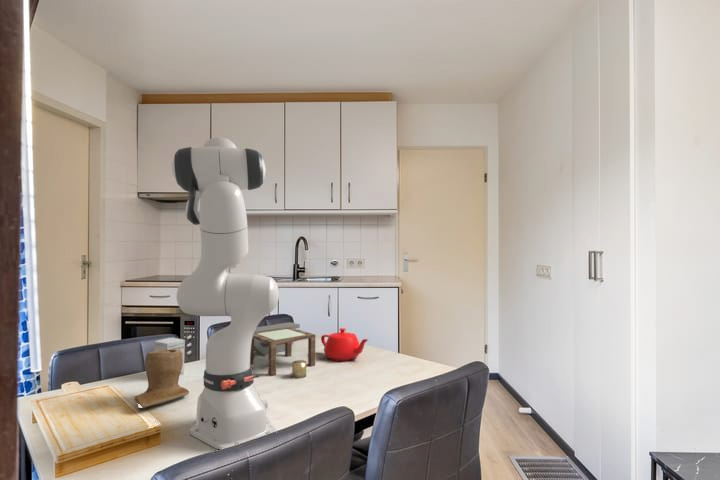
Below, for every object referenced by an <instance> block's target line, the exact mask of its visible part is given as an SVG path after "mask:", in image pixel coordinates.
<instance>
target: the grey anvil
mask: <svg viewBox="0 0 720 480" xmlns="http://www.w3.org/2000/svg"><path fill="white" fill-rule="evenodd" d="M287 327H291V328H294V329H300V328H301V325H300V324H299V323H296V322H291V321H289V322H282V323H275V324H269V325H262V326H257V327H256V329H255V331H254V332H260V331H267V330H273V329H280V328H287ZM261 343H263V342H262V341H259V340H257V339H254V353H257V354H259V355H262V356H269V344H267V343H263V344H261ZM294 343H295V341H292V345H293V344H294ZM282 352H283V353H285V343H281V344H276V354H279V353H282Z"/></svg>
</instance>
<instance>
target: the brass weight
mask: <svg viewBox="0 0 720 480" xmlns="http://www.w3.org/2000/svg"><path fill="white" fill-rule="evenodd" d="M291 365H292V366H291V367H292V369H291V370H292V374H291V377H292V378H293V379H304V378H306V377H307V361H306V360H302V359H301V360H300V359H299V360H297V359H296V360H294V361H292V364H291Z"/></svg>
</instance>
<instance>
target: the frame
mask: <svg viewBox="0 0 720 480" xmlns="http://www.w3.org/2000/svg"><path fill="white" fill-rule="evenodd" d="M283 329H289V330H293V331H296V332H299V333H303V334H306V335H303V336H297V337H291V338H285V339H280V340H271V339H268V338H265V337H262V336H260V335H257V333H264V332H270V331H277V330H283ZM254 339H257V340H259V341H262V342H261V343H263V344H269V355H268V362H267V363H268V368H267V370H268V373H267V374H268V376H271V377H273V376H275V375H277V353H276V344H281V343H285V351H284V356H285V357H287V358H288V357H292V353H293V352H292V350H293V349H292V347H293V344H292V341H294V342H297V341H303V340H307V339H308V340H307V341H308V343H307V345H308V346H307V349H308V350H307V351H308V353H307V355H308V356H307V366H310V367H313V366H316V334H315V333H311V332H307V331H304V330H300V329H299V328H296V329H294V328H291V327H287V328H280V329H273V330H267V331H260V332H254V334H253V337H252V343H251V353H250V366H251V365H254V363H255V362H254V361H255V351H254Z"/></svg>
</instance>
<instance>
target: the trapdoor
mask: <svg viewBox="0 0 720 480" xmlns="http://www.w3.org/2000/svg"><path fill="white" fill-rule="evenodd" d="M257 335H260V336H262V337H265V338H268V339H271V340H280V339H285V338H291V337H297V336H303V335H306V334H303V333H299V332H296V331H293V330H289V329H283V330H277V331H270V332H264V333H257Z"/></svg>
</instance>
